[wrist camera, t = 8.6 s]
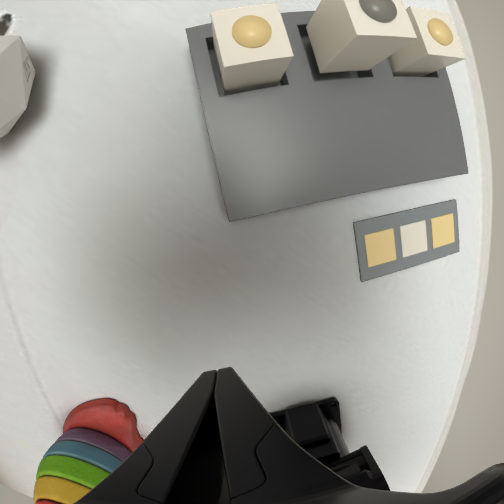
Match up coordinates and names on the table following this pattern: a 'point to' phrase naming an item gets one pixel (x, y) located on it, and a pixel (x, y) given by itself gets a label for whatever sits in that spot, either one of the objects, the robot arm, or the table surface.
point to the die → (14, 81)
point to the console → (324, 129)
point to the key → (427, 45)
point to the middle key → (358, 33)
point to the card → (406, 239)
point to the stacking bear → (86, 451)
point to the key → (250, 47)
